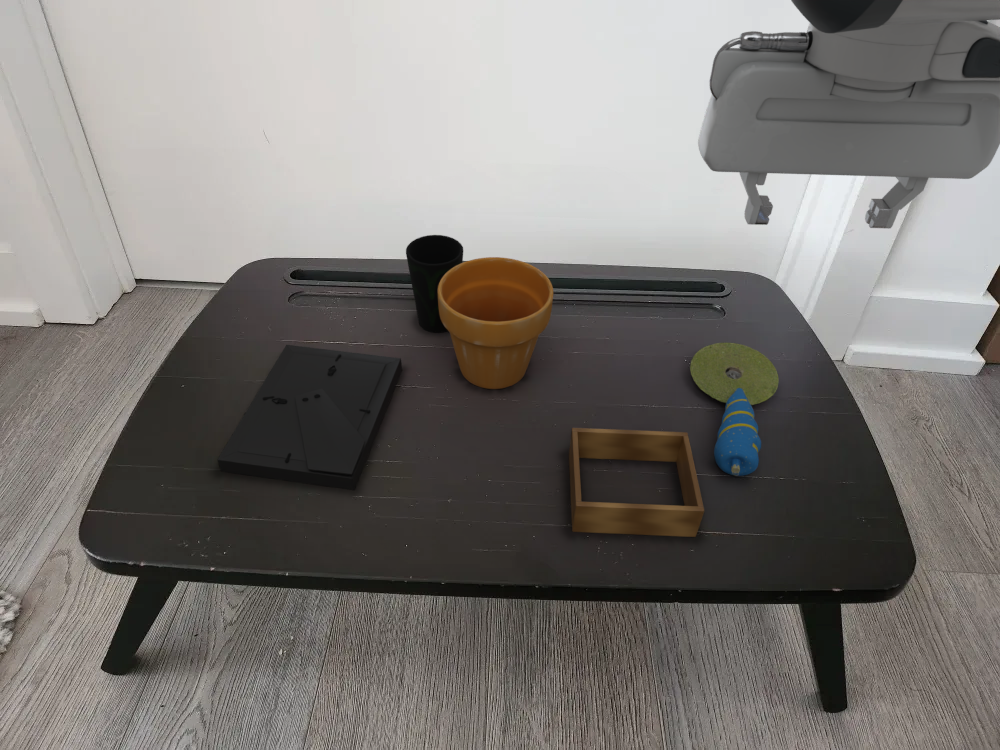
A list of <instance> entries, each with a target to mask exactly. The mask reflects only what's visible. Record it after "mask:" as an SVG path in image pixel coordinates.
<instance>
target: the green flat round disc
mask: <svg viewBox="0 0 1000 750" xmlns="http://www.w3.org/2000/svg"><path fill="white" fill-rule="evenodd" d="M689 370H690V375H691V377H692V379H693V381H694V383H695V384H696V385H697V387H698V388H699V389H700V390H701V391H702V392H704V393H705V394H707V395H708V396H710V397H711V398H712V399H715V400H717V401H719V402H720V403H725V404H726V403H727V401H728V399H729V398H730V396H731V395H732V394H733V393H734V392H735V391H736V389H737V388H741V389H742V390H743V391H744V394H745V396H746V398H747V399H748V401H749V403H750V405H751V406H754V405H757V404H760V403H761V404H762V403H763V402H766V401H768V400H769V399H771V398H772V396H774V395H775V393H776V392H777V390H778V388H779V382H780V381H779V380H780V379H779V374H778V370H777V368H776V367H775V365H774V364H773V362H772V361H770V359H769V358H768V357H767V356H765V355H764V353H761V352H760V351H759V350H757V349H754V348H752V347H750V346H748V345H745V344H741V343H735V342H716V343H713V344H708V345H706V346H703V347H702V348H700V349H699V350H697V351H696V353H694V355H693V357H692V359H691V360H690V365H689Z"/></svg>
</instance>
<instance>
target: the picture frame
mask: <svg viewBox="0 0 1000 750" xmlns="http://www.w3.org/2000/svg"><path fill="white" fill-rule="evenodd" d="M402 371H403V365H402V358H401V357H393V356H385V355H377V354H370V353H361V352H360V353H359V352H352V351H344V350H335V349H325V348H318V347H310V346H301V345H294V344H285V346H284V348H283V350H282V351H281V353H280V354H279V356H278V358H277V360H276V361H275V362H274V364H273V365H272V367H271V369H270V371H269V373H268V374H267V376H266V378H265V380H264V381H263V383H262V384H261V386H260V388H259V389H258V391H257V392H256V394H255V396H254V398H253V399H252V401H251V403H250V405H249V406H248V408H247V409H246V411H245V413H244V415H242V418H241V419H240V421H239V423H238V425H237V426H236V427H235V429H234V431H233V433H232V434H231V436H230V437H229V439H228V441H227V443H226V444H225V446H224V448H222V449H223V450H222V451H221V453H220V455H219V456H218V457H217V463H218V465H219V468H220V471H221V472H222V473H228V474H236V475H243V476H250V477H257V478H264V479H272V480H279V481H284V482H285V481H286V482H294V483H299V484H300V483H301V484H307V485H314V486H321V487H329V488H335V489H336V488H337V489H343V490H349V491H355V490H356V488H357V486H358V483H359V480H360V478H361V476H362V472H363V470H364V468H365V465H366V462H367V460H368V457H369V455H370V452H371V449H372V447H373V445H374V442H375V440H376V437H377V435H378V432H379V430H380V427H381V425H382V422H383V419H384V417H385V414H386V412H387V410H388V407H389V404H390V401H391V399H392V396H393V394H394V392H395V389H396V386H397V384H398V381H399V379H400V376H401V375H402Z"/></svg>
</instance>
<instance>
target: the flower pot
mask: <svg viewBox="0 0 1000 750" xmlns="http://www.w3.org/2000/svg"><path fill="white" fill-rule="evenodd" d="M553 301H554V287H553V284H552V281H551V280H550V279H549V277H548V276H547V275H546V274H545V273H544V272H543V271H541V270H540V269H539V268H538V267H536V266H535V265H532V264H530V263H527V262H525V261H522V260H518V259H514V258H509V257H500V256H499V257H498V256H497V257H496V256H489V257H479V258H474V259H470V260H467V261H463V262H462V263H461V264H459V265H457V266H455V267H453V268H452V269H450V270H449V271H448V272H447V273H446V274H445V275H444V276H443V277H442V279H441V281H440V283H439V286H438V306H439V314H440V318H441V321H442V323H443V325H444V326H445V328H446V329H447V330H448V331H447V332H449V335H450V338H451V342H452V346H453V349H454V352H455V356H456V359H457V363H458V366H459V369H460V372H461V374H462V376H463V377H464V379H466V381H468V382H469V383H470V384H472V385H474V386H476V387H478V388H482V389H488V390H501V389H506V388H508V387H513V386H514V385H515V384H516V385H517V384H518V383H519V382H520V381H521V380H522V379H523V377H524V376H525V374H526V372H527V369H528V367H529V364H530V361H531V358H532V357H533V353H534V351H535V348H536V344H537V343H538V342H537V341H538V339H539V336H540V335H541V334H542V333H543V332H544V331H545V329H546V328H547V327H548V325H549V323H550V320H551V316H552V310H553Z"/></svg>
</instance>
